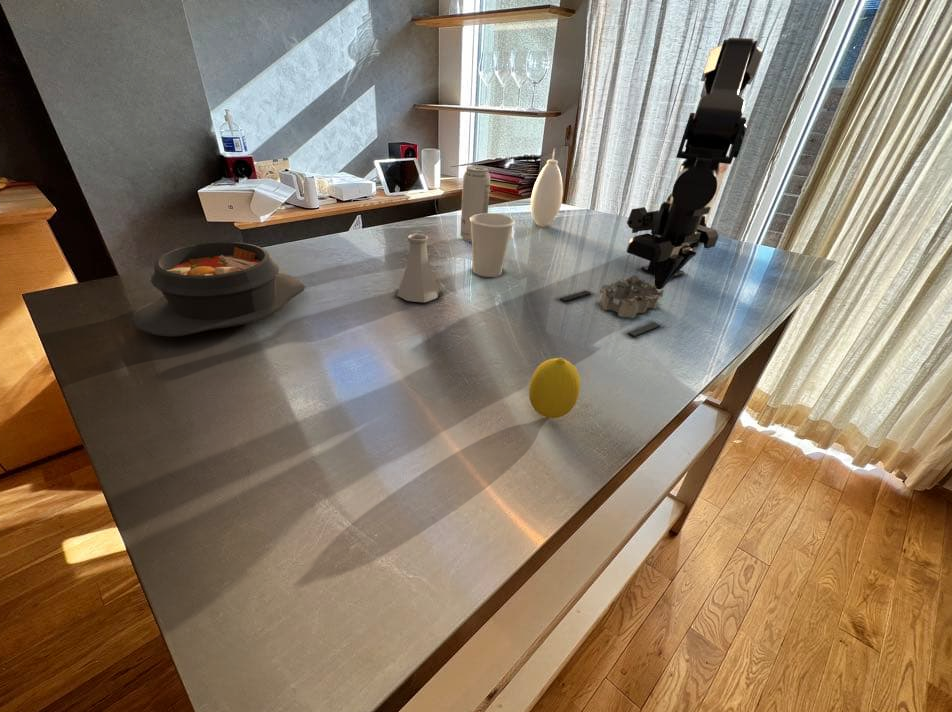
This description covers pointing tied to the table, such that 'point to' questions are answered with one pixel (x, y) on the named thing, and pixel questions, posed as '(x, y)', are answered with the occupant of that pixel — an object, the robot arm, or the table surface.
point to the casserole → (214, 289)
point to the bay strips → (632, 333)
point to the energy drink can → (474, 197)
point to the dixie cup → (490, 242)
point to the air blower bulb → (547, 194)
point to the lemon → (554, 388)
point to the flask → (418, 273)
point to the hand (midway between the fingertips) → (658, 288)
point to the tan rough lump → (629, 296)
